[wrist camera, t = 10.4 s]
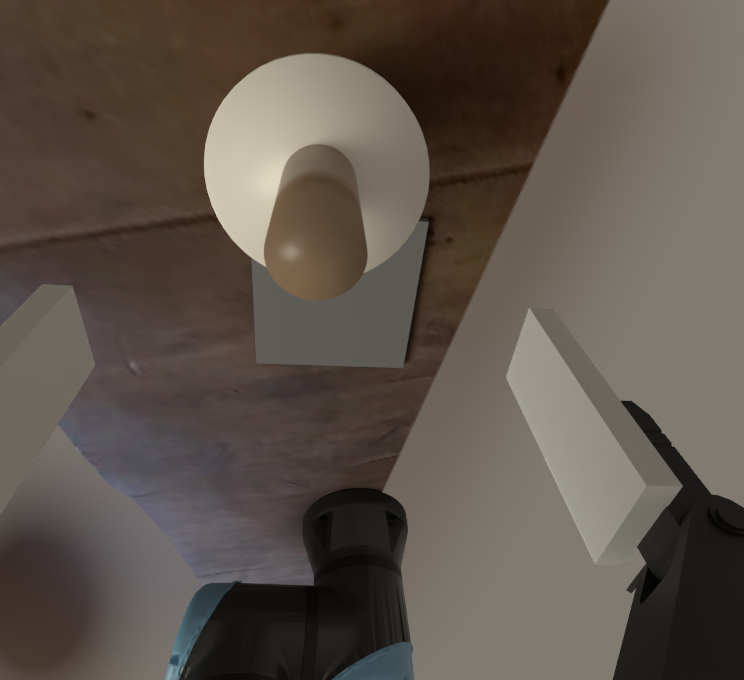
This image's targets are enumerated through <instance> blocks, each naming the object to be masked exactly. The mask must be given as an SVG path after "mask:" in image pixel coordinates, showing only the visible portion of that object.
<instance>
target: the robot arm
mask: <svg viewBox="0 0 744 680" xmlns="http://www.w3.org/2000/svg"><path fill="white" fill-rule="evenodd" d="M94 366H95V362H94V359H93V355H92V352H91V349H90V345H89V342H88V338H87V335H86V331H85V328H84V324H83V321H82V317H81V314H80V310H79V307H78V304H77V300H76V297H75V293H74V290H73V286H65V285H45V284H42V285H41V286H40V287H39V288H38V289H37V290H36V291H35V292H34V293H33V294H32V295H31V296H30V297H29V298H28V299H27V300H26V301H25V302H24V303H23V304H22V305H21V306H20V307H19V308H18V309H17V310H16V311H15V312H14V313H13V314H12V315H11V316H10V317H9V318H8V319H7V320H6V321H5V322H4V323H3V324H2V325H1V326H0V514H1V513H2V511H3V510H4V508H5V506H6V505H7V503H8V502H9V500H10V499H11V497H12V495H13V494H14V492H15V491H16V489H17V488H18V486H19V484H20V483H21V481H22V480H23V478H24V477H25V475H26V473H27V472H28V470H29V469H30V467H31V466H32V464H33V462H34V461H35V459H36V458H37V456H38V454H39V453H40V451H41V450H42V448H43V446H44V445H45V443H46V442H47V440H48V439H49V437H50V436H51V434H52V432H53V431H54V429H55V428H56V426H57V425H58V423H59V421H60V420H61V418H62V417H63V415H64V414H65V412H66V410H67V409H68V407H69V406H70V404H71V403H72V401H73V399H74V398H75V396H76V395H77V393H78V392H79V390H80V388H81V387H82V385H83V384H84V382H85V381H86V379H87V377H88V376H89V374H90V373H91V371H92V370H93V368H94ZM506 378H507V380H508V383H509V385H510V387H511V389H512V391H513V393H514V395H515V397H516V399H517V402H518V403H519V406H520V408H521V410H522V412H523V414H524V416H525V418H526V420H527V423H528V425H529V427H530V429H531V431H532V433H533V435H534V437H535V439H536V441H537V444H538V446H539V448H540V450H541V452H542V454H543V456H544V458H545V460H546V462H547V465H548V467H549V469H550V471H551V473H552V475H553V477H554V479H555V481H556V483H557V486H558V488H559V490H560V492H561V494H562V496H563V498H564V500H565V502H566V504H567V506H568V509H569V511H570V513H571V515H572V517H573V519H574V521H575V523H576V525H577V528H578V530H579V532H580V534H581V536H582V538H583V540H584V542H585V544H586V546H587V549H588V551H589V553H590V555H591V557H592V559H593V561H594V563H595V564H626V563H627V562H628V561H629V560H630V558H631V557H632V555H633V554H634V553H635V551H636V550H637V548H638V549H639V551H640V553H641V555H642V556H643V558H644V560H645V562H646V565H645V566H644V567H643V568H642V570H641V571H640V572H639V573H638V575H637V576H636V577H635V579H634V580H633V582H632V583H631V584H630V586H629V587H628V589H627V591H628V592H630V593H632V592H633V591H634V589H635V588H636V591H635V595H634V599H633V602H632V606H631V610H630V614H629V618H628V622H627V626H626V630H625V634H624V638H623V642H622V646H621V650H620V654H619V657H618V661H617V665H616V669H615V674H614V677H613V680H744V508H743V507H741V506H740V505H738V504H736V503H735V502H733V501H731V500H729V499H726V498H724V497H721V496H718V495H712V494H711V493H710V492H709V491H708V489H707V488H706V487H705V486H704V484H703V483H702V482H701V480H700V479H699V478H698V477H697V475H696V474H695V473H694V472H693V470H692V469H691V468H690V466H689V465H688V464H687V463H686V461H685V460H684V459H683V457H682V456H681V455H680V453H678V451H677V450H676V448H675V447H672V446H671V444H672V443H671V442H670V441H669V439H668V438H667V437H666V436H665V434H662V433H661V429H660V428H659V427H658V425H657V424H656V423H655V421H654V420H653V419H652V418H651V416H650V415H649V414H647V413H646V412H645V411H644V410H642V409H641V408H640V407H639V406H637V405H636V404H635V403H633V402H632V401H620V400H619V398H618V397H617V396H616V394H615V393H614V392H613V390H612V389H611V388H610V386H609V385H608V383H607V382H606V381H605V379H604V378H603V377H602V375H601V374H600V373H599V371H598V370H597V368H596V367H595V366H594V364H593V363H592V362H591V360H590V359H589V358H588V356H587V355H586V354H585V352H584V351H583V349H582V348H581V347H580V345H579V344H578V343H577V341H576V340H575V339H574V337H573V336H572V335H571V333H570V332H569V330H568V329H567V328H566V326H565V325H564V323H563V322H562V321H561V319H560V318H559V317H558V316H557V314H556V313H555V311H554V310H553V309H543V308H529V310H528V313H527V316H526V319H525V322H524V325H523V328H522V331H521V334H520V337H519V340H518V343H517V346H516V349H515V352H514V355H513V358H512V361H511V364H510V367H509V370H508V373H507V376H506ZM407 532H408V526H407V519H406V513H405V510H404V508H403V506H402V505H401V504H400V503H399V502H398V501H397V500H396V499H395V498H393V497H391V496H389V495H387V494H385V493H382V492H379V491H374V490H367V489H351V490H344V491H339V492H335V493H332V494H329V495H327V496H325V497H323V498H321V499H319V500H318V501H316V502H315V503H314V504H313V505H311V506H310V508H309V509H308V510H307V512H306V513H305V515H304V519H303V533H302V534H303V541H304V545H305V548H306V551H307V554H308V558H309V561H310V564H311V567H312V570H313V574H314V586H305V585H279V584H252V583H241V581H234V582H232V583H210V584H206V585H204V586H203V587H202V588H200V589H199V590H198V591H197V592H196V593H195V595H194V596H193V598H192V600H191V602H190V603H189V605H188V608H187V610H186V612H185V615H184V617H183V620H182V622H181V625H180V628H179V631H178V634H177V637H176V640H175V643H174V647H173V650H172V657H171V659H170V663H169V666H168V669H167V673H166V678H165V680H414V675H413V664H412V653H413V646H412V644H411V642H410V633H409V626H408V620H407V611H406V604H405V597H404V589H403V582H402V575H401V564H402V558H403V553H404V549H405V543H406V538H407Z"/></svg>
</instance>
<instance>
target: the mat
mask: <svg viewBox="0 0 744 680" xmlns="http://www.w3.org/2000/svg"><path fill="white" fill-rule="evenodd" d="M428 224H429V221H428V219H424V218H420V219H419V221H418V223H417V225H416V227H415V229H414V230H413V232H412V233H411V235H410V236H409V238H408V239H407V241H406V242H405V243H404V244H403V245H402V246H401V247H400V248H399V250H398V251H397V252H395V253H394V254H393V255H392V256H391V257H390V258H389V259H387V260H386V261H384V262H383V263H381V264H380V265H379V266H377V267H375V268H373V269H371V270H369V271H367V272H365V273H363V275H362V277H361V278H360V280H359V281H358V282H357V283H356V285H355V286H354V287H352V288H351V289H350V290H349V291H347V292H346V293H344V294H342V295H340V296H338V297H335V298H332V299H327V300H307V299H303V298H300V297H297V296H294V295H292V294H290V293H288V292H287V291H285V290H284V289H283V288H281V287H280V286H279V285H278V284H277V283H276V282H275V281H274V279H273V278H272V277H271V275H270V273H269V272H268V269H267V267H265V266H263V265H262V264H260V263H259V262H257V261H255V260H254V259H253V258H251V259H252V280H253V301H254V322H255V343H256V363H264V364H296V365H328V366H359V367H391V368H403V366H404V360H405V355H406V349H407V343H408V338H409V332H410V326H411V321H412V315H413V309H414V303H415V298H416V292H417V286H418V281H419V275H420V269H421V264H422V258H423V252H424V247H425V241H426V235H427V229H428Z"/></svg>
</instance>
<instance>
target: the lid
mask: <svg viewBox="0 0 744 680" xmlns="http://www.w3.org/2000/svg"><path fill="white" fill-rule="evenodd" d="M204 175H205V181H206V187H207V191H208V195H209V198H210V201H211V204H212V206H213V209H214V211H215V213H216V216H217V218H218V219H219V221H220V223H221V224H222V226H223V228H224V229H225V231H226V232H227V233H228V235H229V236H230V237H231V238H232V240H233V241H234V242H235V243H236V244H237V245H238V246H239V247H240V248H241V249H242V250H243V251H244V252H245V253H246V254H248V255H249V256H250V257H251V258H253V259H254V260H255V261H257V262H259V263H260V264H262V265H263V266H265V267H267V269H268V272H269V273H270V275H271V277H272V278H273V279H274V281H275V282H276V283H277V284H278V285H279V286H280V287H281V288H283V289H284V290H285V291H287V292H288V293H290V294H292V295H294V296H297V297H300V298H303V299H307V300H327V299H332V298H335V297H338V296H340V295H342V294H344V293H346V292H347V291H349V290H350V289H351V288H352V287H354V286H355V285H356V283H357V282H358V281H359V280H360V278H361V277H362V275H363V273H365V272H367V271H369V270H371V269H373V268H375V267H377V266H379V265H380V264H381V263H383V262H384V261H386V260H387V259H389V258H390V257H391V256H392V255H393V254H394V253H395V252H397V251H398V250H399V248H400V247H401V246H402V245H403V244H404V243H405V242H406V241H407V239H408V238H409V236H410V235H411V233H412V232H413V230H414V229H415V227H416V225H417V223H418V221H419V219H420V217H421V214H422V212H423V209H424V206H425V202H426V198H427V194H428V187H429V177H430V176H429V158H428V152H427V146H426V143H425V140H424V136H423V133H422V130H421V128H420V126H419V124H418V121H417V119H416V117H415V116H414V114H413V112H412V111H411V109H410V107H409V106H408V104H407V103H406V102H405V100H404V99H403V98H402V97H401V95H400V94H399V93H398V92H397V91H396V89H395V88H394V87H393V86H392V85H390V84H389V83H388V82H387V81H386V80H385V79H384V78H383V77H381V76H380V75H379V74H377V73H376V72H374V71H373V70H371V69H370V68H368V67H366V66H364V65H362V64H360V63H358V62H356V61H354V60H351V59H348V58H345V57H342V56H338V55H333V54H327V53H311V52H307V53H299V54H291V55H288V56H284V57H280V58H277V59H274V60H272V61H270V62H268V63H266V64H263V65H261V66H260V67H258V68H257V69H255V70H254V71H252V72H251V73H249V74H248V75H247V76H246V77H245V78H244V79H242V80H241V81H240V82H239V83H238V84H237V85H236V86H235V87H234V88H233V89H232V90H231V91H230V93H229V94H228V95H227V96H226V98H225V99H224V100H223V102H222V103H221V105H220V107H219V108H218V110H217V112H216V114H215V116H214V118H213V121H212V123H211V126H210V128H209V132H208V136H207V140H206V145H205V154H204Z"/></svg>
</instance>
